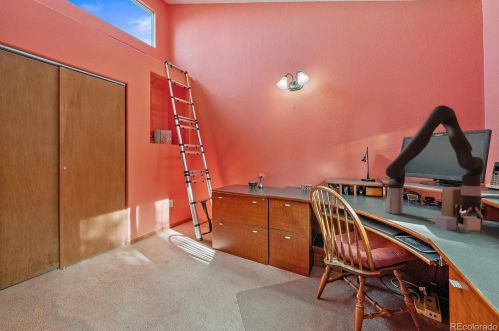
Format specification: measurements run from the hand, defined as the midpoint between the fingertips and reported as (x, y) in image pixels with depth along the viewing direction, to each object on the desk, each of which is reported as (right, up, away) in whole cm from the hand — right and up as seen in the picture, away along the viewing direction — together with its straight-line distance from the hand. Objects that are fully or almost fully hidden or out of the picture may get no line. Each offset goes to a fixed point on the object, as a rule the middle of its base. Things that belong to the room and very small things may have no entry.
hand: (469, 224), depth 119 cm
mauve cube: (-12, -2, +1) cm, 13 cm away
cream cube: (0, -2, 0) cm, 2 cm away
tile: (-8, -2, +12) cm, 15 cm away
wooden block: (+3, -2, +12) cm, 12 cm away
